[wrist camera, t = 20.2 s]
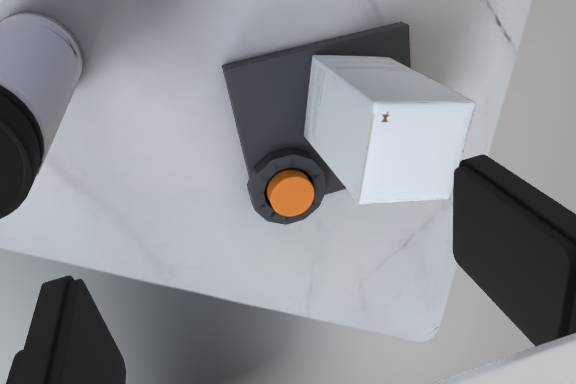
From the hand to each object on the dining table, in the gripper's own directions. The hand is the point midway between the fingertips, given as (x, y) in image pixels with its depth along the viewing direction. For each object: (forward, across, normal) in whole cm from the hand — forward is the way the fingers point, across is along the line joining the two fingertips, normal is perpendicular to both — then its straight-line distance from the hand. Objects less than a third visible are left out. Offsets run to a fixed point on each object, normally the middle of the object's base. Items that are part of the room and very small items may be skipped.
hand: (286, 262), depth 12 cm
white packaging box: (+29, -12, +8) cm, 32 cm away
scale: (+30, -10, +10) cm, 33 cm away
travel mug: (+31, +11, -1) cm, 32 cm away
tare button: (+28, -5, +15) cm, 32 cm away
